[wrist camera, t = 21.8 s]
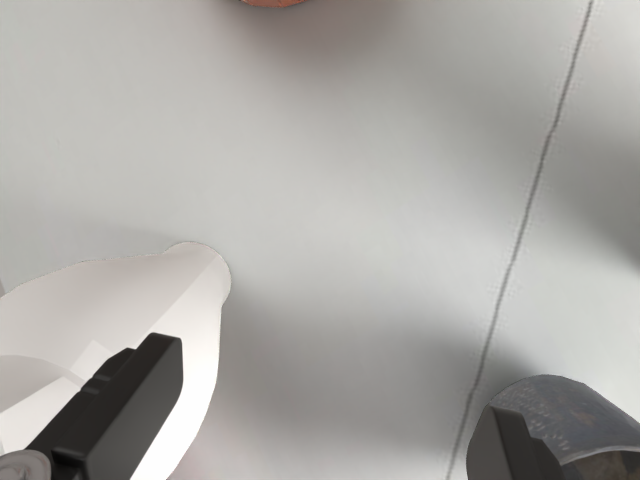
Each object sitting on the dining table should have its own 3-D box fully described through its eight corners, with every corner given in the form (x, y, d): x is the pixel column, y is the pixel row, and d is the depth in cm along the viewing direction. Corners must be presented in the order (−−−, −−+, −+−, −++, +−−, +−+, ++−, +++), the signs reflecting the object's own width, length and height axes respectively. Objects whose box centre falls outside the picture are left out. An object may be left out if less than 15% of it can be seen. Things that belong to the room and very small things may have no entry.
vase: (104, 226, 42) (-382, 437, 14) (240, 194, 40) (-4, 363, 12) (153, 351, 45) (-152, 713, 18) (279, 327, 44) (162, 688, 16)
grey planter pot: (418, 378, 44) (453, 501, 30) (577, 309, 41) (701, 409, 27) (485, 494, 48) (544, 653, 34) (635, 439, 45) (772, 588, 30)
